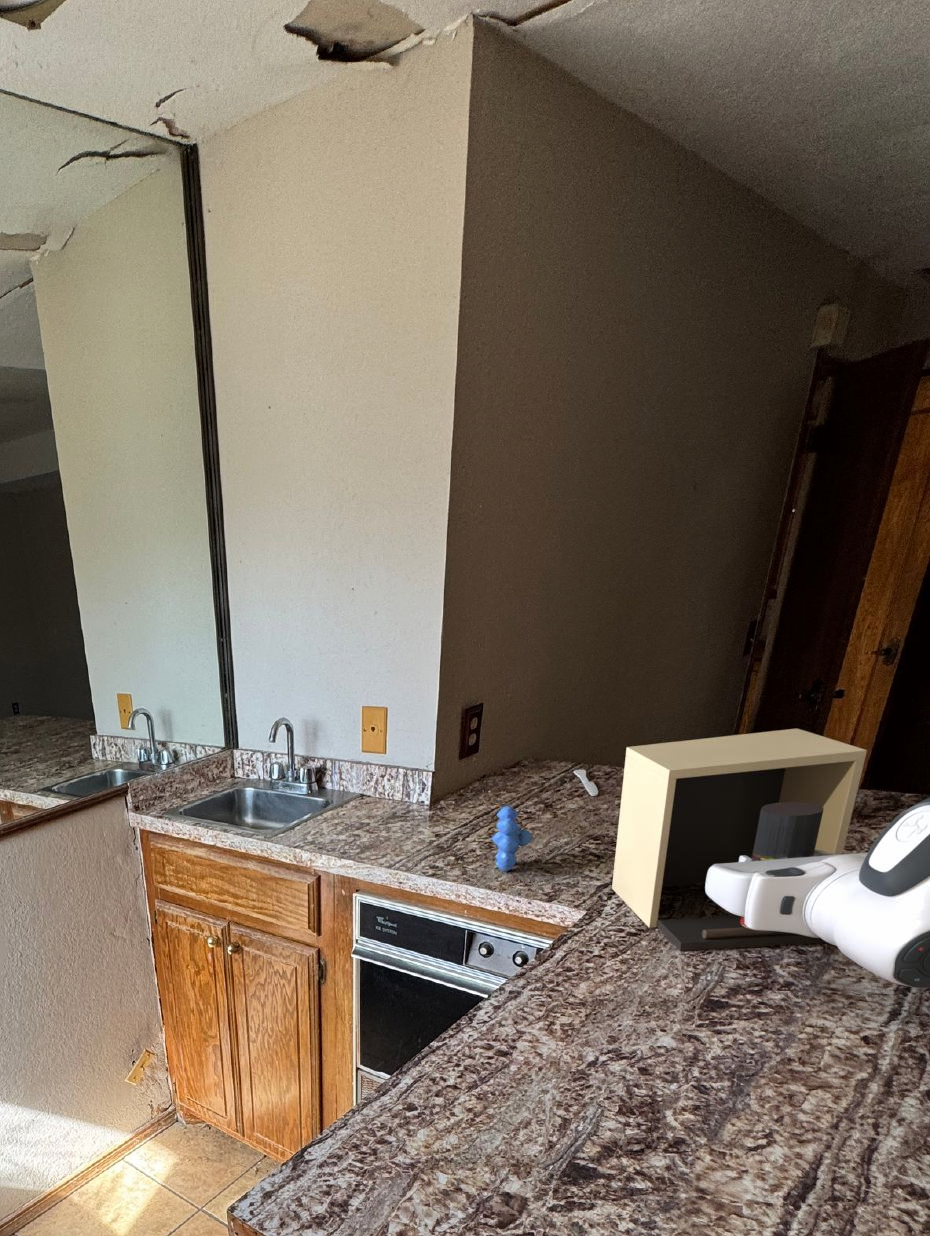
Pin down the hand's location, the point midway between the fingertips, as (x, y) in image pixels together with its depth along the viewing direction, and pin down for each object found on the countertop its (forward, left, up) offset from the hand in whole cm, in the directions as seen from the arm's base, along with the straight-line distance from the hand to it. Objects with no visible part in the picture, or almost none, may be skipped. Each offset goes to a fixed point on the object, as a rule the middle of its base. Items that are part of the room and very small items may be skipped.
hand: (777, 858), depth 96 cm
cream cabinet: (-2, -11, -12) cm, 16 cm away
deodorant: (0, +1, -9) cm, 9 cm away
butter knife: (-22, -86, -11) cm, 89 cm away
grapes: (+16, -39, -12) cm, 44 cm away
